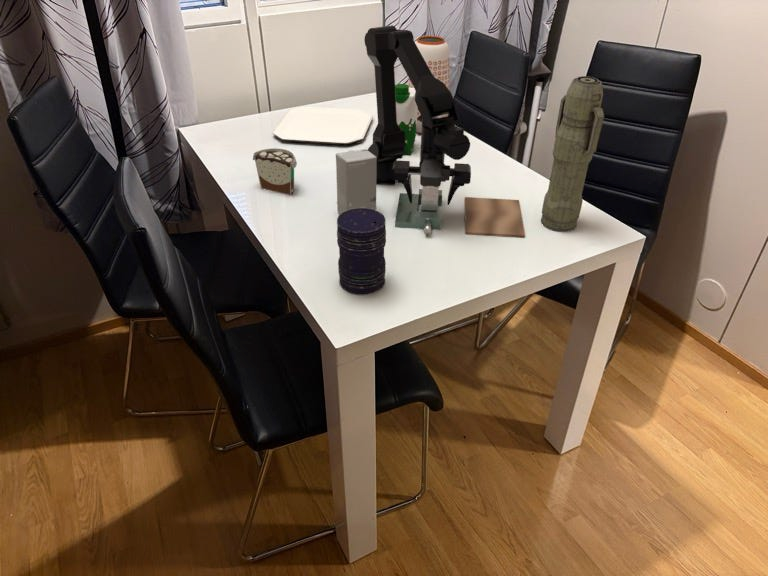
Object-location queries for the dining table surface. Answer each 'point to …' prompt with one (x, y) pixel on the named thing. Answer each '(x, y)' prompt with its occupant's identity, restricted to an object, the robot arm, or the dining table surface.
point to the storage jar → (361, 250)
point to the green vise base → (417, 213)
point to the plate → (324, 125)
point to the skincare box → (356, 180)
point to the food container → (276, 170)
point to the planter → (434, 63)
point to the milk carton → (406, 114)
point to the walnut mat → (493, 217)
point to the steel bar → (429, 199)
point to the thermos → (573, 152)
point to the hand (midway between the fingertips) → (429, 203)
